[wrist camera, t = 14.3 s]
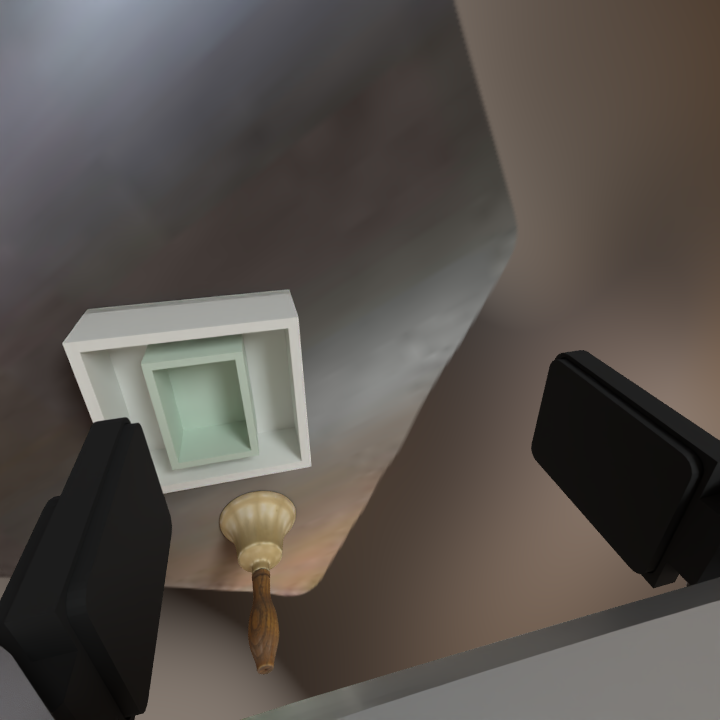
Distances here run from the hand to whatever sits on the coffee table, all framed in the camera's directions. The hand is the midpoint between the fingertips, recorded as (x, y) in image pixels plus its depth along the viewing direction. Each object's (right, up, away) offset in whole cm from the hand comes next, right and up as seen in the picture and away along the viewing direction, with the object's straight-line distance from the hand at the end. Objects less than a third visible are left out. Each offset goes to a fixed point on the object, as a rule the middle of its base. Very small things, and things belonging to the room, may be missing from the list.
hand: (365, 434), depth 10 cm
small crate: (-13, 0, +28) cm, 31 cm away
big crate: (-14, 0, +29) cm, 32 cm away
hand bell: (-11, -16, +39) cm, 44 cm away
